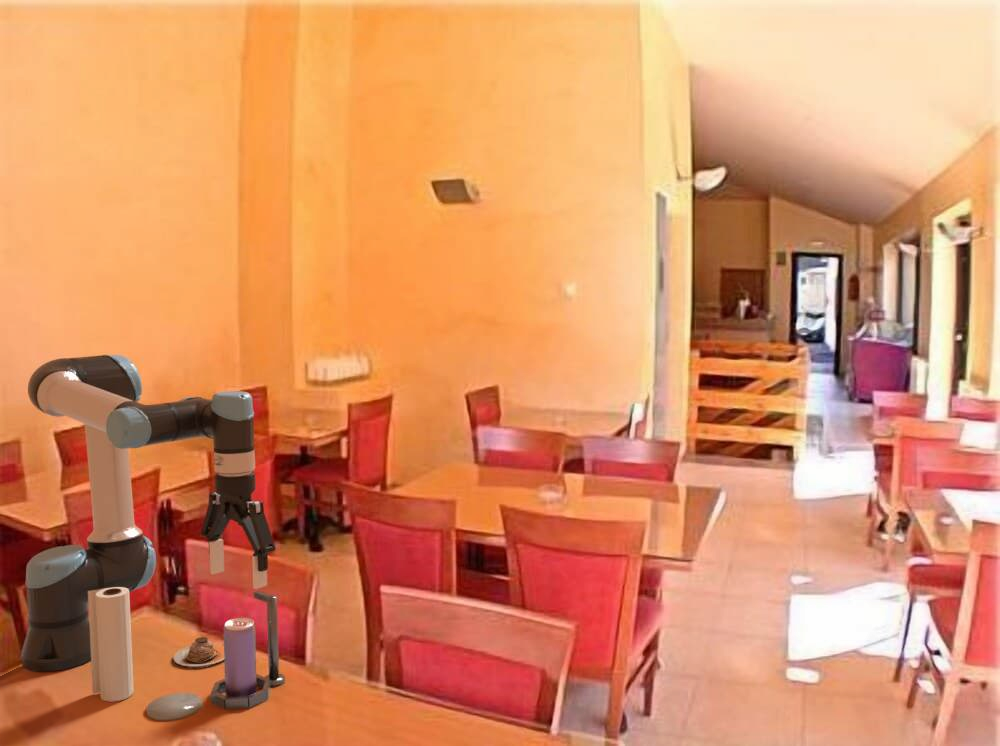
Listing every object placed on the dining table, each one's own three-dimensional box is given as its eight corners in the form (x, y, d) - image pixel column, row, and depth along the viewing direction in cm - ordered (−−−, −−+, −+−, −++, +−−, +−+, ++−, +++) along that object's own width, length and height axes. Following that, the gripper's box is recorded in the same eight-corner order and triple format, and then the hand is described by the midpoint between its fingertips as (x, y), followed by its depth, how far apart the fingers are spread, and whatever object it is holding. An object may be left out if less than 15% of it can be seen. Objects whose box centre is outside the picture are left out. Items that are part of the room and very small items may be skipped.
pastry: (161, 662, 197) (160, 641, 196) (207, 643, 207) (207, 624, 206) (196, 676, 190) (196, 654, 190) (242, 656, 200) (242, 636, 199)
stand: (201, 698, 179) (198, 609, 177) (266, 671, 192) (263, 588, 190) (235, 714, 173) (232, 623, 171) (299, 685, 185) (297, 599, 183)
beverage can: (248, 704, 177) (246, 630, 175) (219, 701, 178) (217, 627, 176) (262, 690, 183) (260, 618, 181) (234, 688, 184) (232, 616, 182)
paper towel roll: (139, 695, 180) (134, 590, 178) (108, 705, 176) (103, 598, 174) (122, 684, 185) (118, 582, 183) (92, 694, 181) (87, 589, 179)
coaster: (135, 710, 174) (135, 706, 174) (182, 691, 182) (182, 688, 182) (165, 726, 168) (165, 722, 168) (212, 705, 176) (212, 702, 176)
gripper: (180, 467, 180) (184, 571, 182) (259, 485, 165) (262, 598, 167) (212, 461, 186) (216, 562, 188) (292, 477, 171) (295, 587, 173)
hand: (238, 579), depth 178 cm, fingers open, 13 cm apart
